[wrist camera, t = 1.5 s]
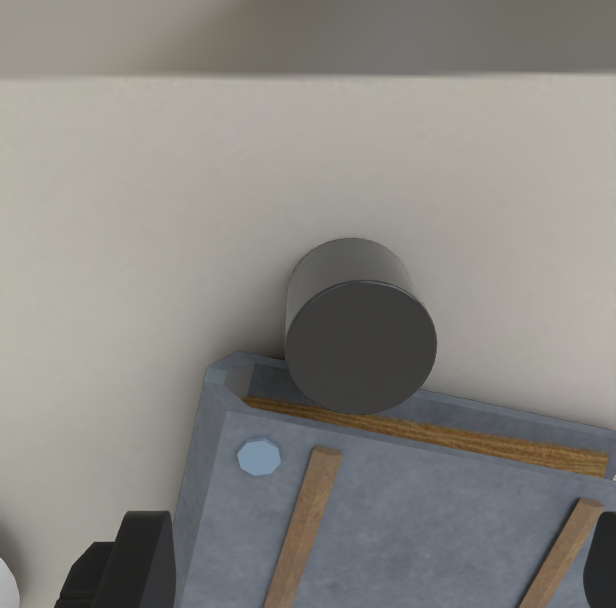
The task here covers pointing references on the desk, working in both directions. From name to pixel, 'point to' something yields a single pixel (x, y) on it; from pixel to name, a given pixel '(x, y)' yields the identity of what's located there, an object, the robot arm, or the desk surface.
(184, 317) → the desk surface
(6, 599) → the cup
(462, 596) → the book
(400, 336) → the dark grey cylinder
